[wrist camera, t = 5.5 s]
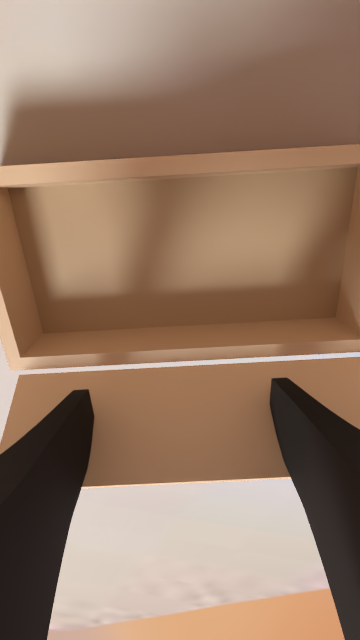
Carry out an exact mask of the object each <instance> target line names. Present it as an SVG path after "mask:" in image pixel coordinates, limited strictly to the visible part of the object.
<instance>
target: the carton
mask: <svg viewBox="0 0 360 640" xmlns="http://www.w3.org/2000/svg"><path fill="white" fill-rule="evenodd" d="M0 339H1V342H2V345H3V349H4V352H5V355H6V358H7V362H8V365H9V368H10V370H27V369H46V368H65V367H84V366H102V365H121V364H140V363H159V362H177V361H196V360H215V359H234V358H253V357H271V356H290V355H309V354H328V353H347V352H360V144H349V145H333V146H317V147H301V148H285V149H269V150H253V151H236V152H220V153H204V154H188V155H172V156H156V157H140V158H124V159H108V160H92V161H76V162H60V163H43V164H27V165H11V166H0Z"/></svg>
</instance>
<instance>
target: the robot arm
mask: <svg viewBox="0 0 360 640" xmlns="http://www.w3.org/2000/svg"><path fill="white" fill-rule="evenodd" d="M270 409H271V414H272V418H273V423H274V427H275V432H276V436H277V440H278V443H279V447H280V450H281V453H282V457H283V460H284V463H285V466H286V468H287V470H288V472H289V474H290V477H291V479H292V481H293V483H294V486H295V488H296V490H297V492H298V494H299V497H300V499H301V502H302V504H303V507H304V509H305V512H306V515H307V518H308V521H309V524H310V527H311V530H312V532H313V535H314V538H315V541H316V545H317V548H318V551H319V554H320V557H321V560H322V563H323V566H324V570H325V573H326V576H327V579H328V583H329V586H330V589H331V593H332V596H333V599H334V603H335V606H336V609H337V613H338V616H339V620H340V623H341V627H342V631H343V634H344V638H345V640H360V429H358V428H357V427H355V426H353V425H352V424H350V423H349V422H347V421H346V420H344V419H343V418H341V417H340V416H338V415H337V414H335V413H334V412H332V411H331V410H329V409H328V408H327V407H325V406H324V405H322V404H321V403H320V402H318V401H317V400H316V399H314V398H313V397H312V396H311V395H309V394H308V393H307V392H305V391H304V390H303V389H301V388H300V387H299V386H298V385H296V384H295V383H294V382H292V381H291V380H290V379H288V378H287V377H285V378H271V391H270ZM93 426H94V412H93V407H92V402H91V398H90V393H89V389H83V390H73V391H72V392H71V393H70V394H69V395H67V396H66V397H65V398H64V399H63V400H62V401H61V402H60V403H59V404H58V405H57V406H56V407H55V408H54V409H53V410H52V411H51V412H50V413H49V414H47V415H46V416H45V417H44V418H43V419H42V420H41V421H40V422H39V423H38V424H37V425H36V426H34V427H33V428H32V429H31V430H30V431H28V432H27V433H26V434H25V435H24V436H23V437H21V438H20V439H19V440H18V441H17V442H16V443H14V444H13V445H12V446H11V447H9V448H8V449H7V450H5V451H4V452H3V453H1V454H0V640H47V635H48V630H49V624H50V619H51V613H52V608H53V603H54V597H55V592H56V587H57V582H58V577H59V572H60V567H61V563H62V558H63V553H64V549H65V544H66V540H67V535H68V531H69V527H70V523H71V519H72V516H73V512H74V509H75V506H76V503H77V500H78V497H79V494H80V491H81V487H82V484H83V481H84V478H85V475H86V472H87V469H88V464H89V458H90V452H91V445H92V436H93Z"/></svg>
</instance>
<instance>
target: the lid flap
mask: <svg viewBox="0 0 360 640" xmlns="http://www.w3.org/2000/svg"><path fill="white" fill-rule="evenodd" d="M285 377H287V378H288V379H290V380H291V381H292V382H294V383H295V384H296V385H298V386H299V387H300V388H301V389H303V390H304V391H305V392H307V393H308V394H309V395H311V396H312V397H313V398H314V399H316V400H317V401H318V402H320V403H321V404H322V405H324V406H325V407H327V408H328V409H329V410H331V411H332V412H334V413H335V414H337V415H338V416H340V417H341V418H343V419H344V420H346V421H347V422H349V423H350V424H352V425H353V426H355V427H357V428H358V429H360V357H350V358H331V359H312V360H294V361H275V362H256V363H237V364H218V365H199V366H180V367H162V368H143V369H124V370H105V371H86V372H67V373H48V374H29V375H19V378H18V382H17V385H16V389H15V393H14V396H13V400H12V404H11V407H10V411H9V415H8V418H7V422H6V426H5V429H4V433H3V437H2V440H1V444H0V454H1V453H3V452H4V451H5V450H7V449H8V448H9V447H11V446H12V445H13V444H14V443H16V442H17V441H18V440H19V439H20V438H21V437H23V436H24V435H25V434H26V433H27V432H28V431H30V430H31V429H32V428H33V427H34V426H36V425H37V424H38V423H39V422H40V421H41V420H42V419H43V418H44V417H45V416H46V415H47V414H49V413H50V412H51V411H52V410H53V409H54V408H55V407H56V406H57V405H58V404H59V403H60V402H61V401H62V400H63V399H64V398H65V397H66V396H67V395H69V394H70V393H71V392H72V391H73V390H83V389H89V393H90V398H91V402H92V407H93V412H94V426H93V436H92V445H91V452H90V458H89V464H88V469H87V472H86V475H85V478H84V481H83V484H82V487H81V489H82V488H103V487H124V486H145V485H165V484H186V483H207V482H228V481H249V480H270V479H291V477H290V474H289V472H288V470H287V468H286V466H285V463H284V460H283V457H282V453H281V450H280V447H279V443H278V440H277V436H276V432H275V427H274V423H273V418H272V414H271V409H270V391H271V378H285Z"/></svg>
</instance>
